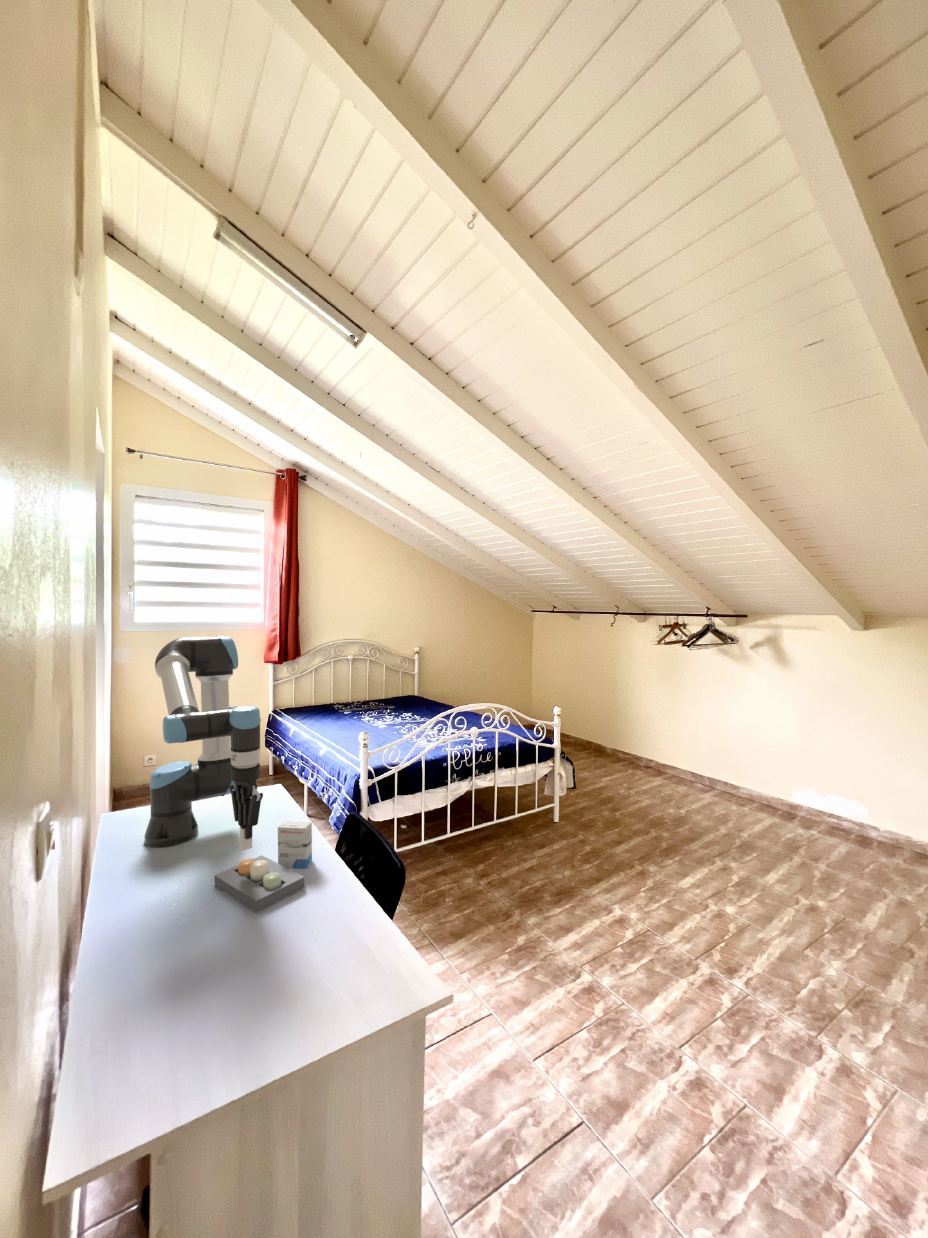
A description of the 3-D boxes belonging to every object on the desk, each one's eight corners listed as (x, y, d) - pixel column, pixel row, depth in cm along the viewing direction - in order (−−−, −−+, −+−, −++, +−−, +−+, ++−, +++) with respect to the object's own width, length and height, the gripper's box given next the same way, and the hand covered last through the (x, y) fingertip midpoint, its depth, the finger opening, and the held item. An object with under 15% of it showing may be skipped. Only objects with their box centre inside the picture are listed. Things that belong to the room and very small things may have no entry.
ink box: (312, 860, 154) (312, 821, 154) (306, 869, 149) (305, 828, 149) (285, 859, 155) (284, 820, 155) (277, 867, 150) (277, 827, 150)
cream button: (247, 879, 139) (246, 865, 139) (262, 872, 143) (261, 858, 143) (256, 885, 137) (256, 870, 137) (271, 878, 140) (271, 863, 140)
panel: (214, 886, 140) (214, 875, 140) (261, 865, 151) (261, 855, 151) (256, 913, 128) (256, 901, 128) (304, 888, 139) (304, 877, 139)
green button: (259, 892, 136) (259, 877, 136) (274, 885, 139) (274, 870, 139) (269, 898, 133) (269, 883, 133) (284, 890, 137) (284, 875, 136)
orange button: (234, 878, 143) (234, 863, 143) (249, 871, 146) (249, 857, 146) (243, 883, 140) (243, 868, 140) (258, 876, 144) (258, 862, 144)
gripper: (219, 762, 143) (220, 847, 144) (246, 772, 135) (246, 861, 137) (245, 756, 149) (245, 837, 150) (271, 765, 141) (272, 850, 143)
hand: (246, 848), depth 143 cm, fingers closed
